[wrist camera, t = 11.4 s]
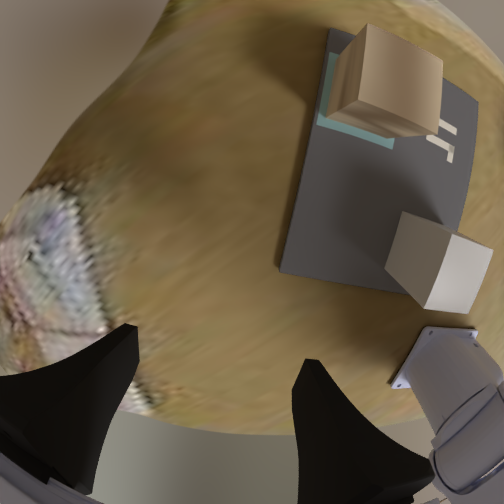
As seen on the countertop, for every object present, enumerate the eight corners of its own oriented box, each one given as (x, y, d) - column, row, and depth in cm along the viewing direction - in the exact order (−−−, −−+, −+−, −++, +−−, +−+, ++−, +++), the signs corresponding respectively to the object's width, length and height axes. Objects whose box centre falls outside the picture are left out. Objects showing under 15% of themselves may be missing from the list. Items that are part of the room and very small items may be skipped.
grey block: (444, 225, 17) (493, 250, 12) (426, 277, 19) (467, 314, 13) (402, 210, 17) (452, 234, 11) (384, 268, 18) (423, 308, 13)
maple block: (394, 82, 14) (442, 60, 8) (386, 138, 15) (437, 134, 10) (335, 59, 14) (367, 22, 8) (325, 118, 15) (357, 99, 10)
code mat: (474, 102, 14) (478, 102, 13) (429, 295, 20) (432, 298, 19) (328, 30, 13) (330, 27, 13) (278, 268, 19) (279, 272, 19)
